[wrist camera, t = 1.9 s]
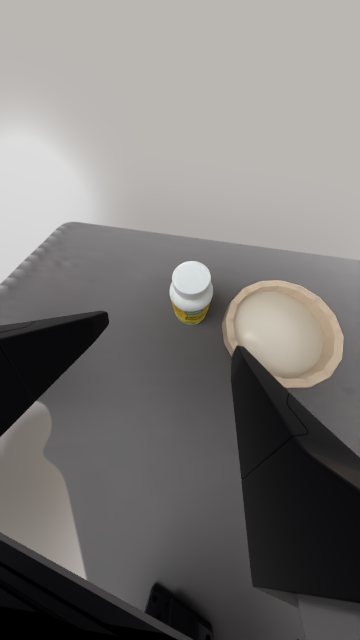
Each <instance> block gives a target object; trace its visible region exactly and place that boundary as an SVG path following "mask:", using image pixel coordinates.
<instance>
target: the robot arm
mask: <svg viewBox="0 0 360 640" xmlns="http://www.w3.org/2000/svg"><path fill="white" fill-rule="evenodd" d="M108 324H109V318H108V313H107V312H105V311H96V312H89V313H83V314H76V315H70V316H63V317H56V318H50V319H43V320H37V321H30V322H23V323H16V324H9V325H1V326H0V437H1V436H2V435H3V434H4V433H5V432H6V431H7V430H8V429H9V428H10V427H11V426H12V425H13V424H14V422H16V421H17V419H19V418H20V417H21V416H22V415H23V413H24V412H25V411H26V410H27V409H28V408H29V407H30V406H31V405H32V404H33V403H34V402H35V401H36V400H37V399H38V398H39V397H40V396H41V395H42V394H43V393H44V392H45V391H46V390H47V389H48V388H49V387H50V386H51V385H52V384H53V383H54V382H55V381H56V380H57V379H58V378H59V377H60V376H61V375H62V374H63V373H64V372H65V371H66V370H67V369H68V368H69V367H70V366H71V365H72V364H73V363H74V362H75V361H76V360H77V359H78V358H79V357H80V356H81V355H82V354H83V353H84V352H85V351H86V350H87V349H88V348H89V347H90V346H91V345H92V344H93V343H94V342H95V341H96V339H97V338H98V337H99V336H100V335H101V333H102V332H103V331H104V330H105V328H106V327H107V326H108ZM231 383H232V393H233V403H234V413H235V422H236V432H237V441H238V451H239V461H240V470H241V479H242V491H243V500H244V510H245V520H246V529H247V539H248V549H249V558H250V568H251V577H252V584H253V587H255V588H257V589H259V590H261V591H263V592H265V593H267V594H270V595H272V596H274V597H276V598H278V599H280V600H282V601H284V602H286V603H288V604H291V605H293V606H295V607H297V608H298V609H299V613H300V618H301V622H302V626H303V631H304V635H305V640H360V457H358V456H357V455H356V454H355V453H354V452H353V451H352V450H351V449H350V448H348V447H347V446H346V445H345V444H344V443H343V442H342V441H341V440H340V439H339V438H337V437H336V436H335V435H334V434H333V433H332V432H331V431H330V430H329V429H327V428H326V427H325V426H324V425H323V424H322V423H321V422H320V421H319V420H318V419H317V418H315V417H314V416H313V415H312V414H311V413H310V412H309V411H308V410H307V409H306V408H305V407H304V406H303V405H302V404H301V403H300V402H299V401H298V400H297V399H296V398H295V397H294V396H293V395H292V394H291V393H289V391H288V390H287V389H286V388H285V387H284V386H283V385H282V384H281V383H280V382H279V381H278V380H277V379H276V378H275V377H274V376H273V375H272V374H271V373H270V372H269V371H268V370H267V369H266V368H265V367H264V366H263V365H262V364H261V363H260V362H259V361H258V360H257V359H256V358H255V357H254V356H253V355H252V354H251V353H250V352H249V351H248V350H247V349H246V348H245V347H243V346H239V345H237V346H236V348H235V350H234V352H233V355H232V366H231ZM154 595H156V597H155V596H154ZM207 634H209V635H207ZM0 640H213V629H212V626H211V624H210V623H209V622H207V621H206V620H205V619H203V618H202V617H200V616H199V615H197V614H196V613H195V612H193V611H192V610H190V609H189V608H188V607H186V606H185V605H183V604H182V603H181V602H179V601H178V600H176V599H175V598H174V597H172V596H171V595H169V594H168V593H167V592H165V591H164V590H162V589H161V588H160V587H158V586H156V585H155V586H153V587H152V589H151V592H150V595H149V599H148V602H147V605H146V609H145V612H142V611H141V610H139V609H137V608H135V607H133V606H132V605H130V604H128V603H126V602H124V601H123V600H121V599H119V598H117V597H116V596H114V595H112V594H110V593H108V592H107V591H105V590H103V589H101V588H99V587H98V586H96V585H94V584H92V583H90V582H89V581H87V580H85V579H83V578H81V577H79V576H78V575H76V574H74V573H72V572H71V571H68V570H67V569H65V568H63V567H62V566H59V565H58V564H56V563H54V562H53V561H51V560H49V559H47V558H45V557H44V556H42V555H40V554H38V553H36V552H35V551H33V550H31V549H29V548H27V547H26V546H24V545H22V544H20V543H18V542H17V541H15V540H13V539H11V538H9V537H8V536H6V535H4V534H2V533H0ZM297 640H298V639H297Z"/></svg>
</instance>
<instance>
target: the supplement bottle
mask: <svg viewBox="0 0 360 640" xmlns="http://www.w3.org/2000/svg"><path fill="white" fill-rule="evenodd" d="M210 280H211V275H210V272H209V270H208V268H207V267H206V266H205V265H203V264H202V263H199V262H196V261H188V262H184V263H182V264H180V265H179V266H178V267H177V268H176V269H175V270H174V272H173V275H172V283H171V286H170V298H171V301H172V304H173V307H174V311H175V314H176V316H177V318H178V319H179V321H181V322H182V323H184V324H188V325H195V324H198V323H200V322H201V321H202V320H203V319H204V318H205V316H206V314H207V311H208V308H209V305H210V302H211V299H212V296H213V286H212V283H211V281H210Z"/></svg>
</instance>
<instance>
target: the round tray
mask: <svg viewBox="0 0 360 640" xmlns="http://www.w3.org/2000/svg"><path fill="white" fill-rule="evenodd" d="M222 330H223V339H224V344H225V345H226V347H227V349H228V351H229V353H230V355H231V357H232V355H233V352H234V350H235V348H236V346H237V345H239V346H243V347H245V348H246V349H247V350H248V351H249V352H250V353H251V354H252V355H253V356H254V357H255V358H256V359H257V360H258V361H259V362H260V363H261V364H262V365H263V366H264V367H265V368H266V369H267V370H268V371H269V372H270V373H271V374H272V375H273V376H274V377H275V378H276V379H277V380H278V381H279V382H280V383H281V384H282V385H283V386H284V387H285V388H291V387H311V386H313V385H315V384H317V383H319V382H321V381H323V380H325V379H327V378H329V377H330V376H331V375H332V373H333V372H334V370H335V369H336V367H337V366H338V364H339V363H340V361H341V360H342V352H343V334H342V332H341V329H340V326H339V324H338V321H337V318H336V316H335V314H334V313H333V312H332V311H331V310H330V309H329V307H328V306H327V305H326V304H325V303H324V302H323V300H322V299H321V298H320V297H318V296H317V295H315V294H313V293H312V292H310V291H309V290H307V289H305V288H304V287H302V286H300V285H296V284H293V283H289V282H285V281H281V280H274V281H260V282H257V283H255V284H253V285H250V286H248V287H246V288H243V289H242V290H241V292H240V293H239V294H238V295H237V296H236V297H235V298H234V299H233V300H232V301H231V303H230V304H229V306H228V307H227V309H226V312H225V316H224V319H223V322H222Z"/></svg>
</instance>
